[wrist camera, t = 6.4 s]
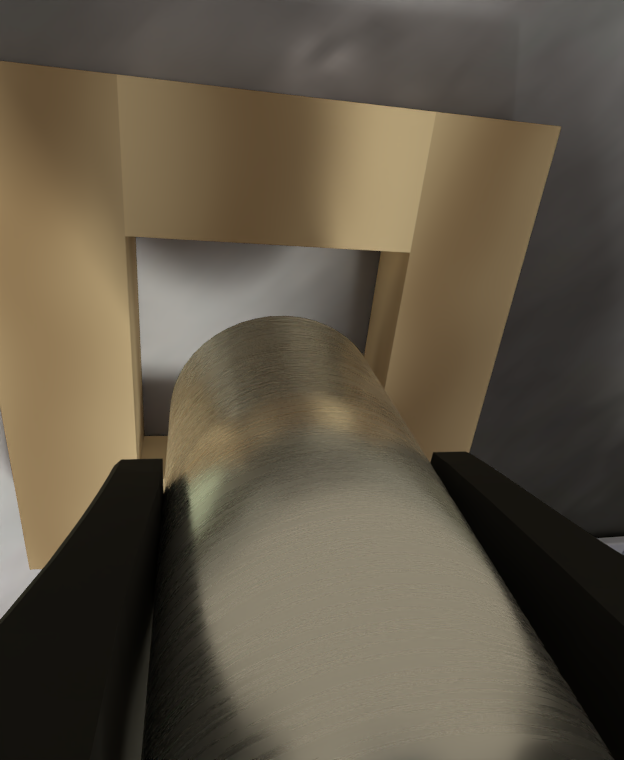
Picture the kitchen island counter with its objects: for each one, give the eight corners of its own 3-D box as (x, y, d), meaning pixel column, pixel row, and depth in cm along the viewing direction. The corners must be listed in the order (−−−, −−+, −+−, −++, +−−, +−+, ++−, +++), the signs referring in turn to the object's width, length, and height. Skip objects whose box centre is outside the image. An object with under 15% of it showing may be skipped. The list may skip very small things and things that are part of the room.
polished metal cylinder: (391, 319, 11) (715, 703, 4) (361, 490, 13) (546, 944, 6) (168, 311, 10) (106, 792, 3) (171, 497, 12) (137, 1043, 5)
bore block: (514, 121, 13) (561, 126, 12) (420, 501, 19) (443, 543, 17) (-24, 58, 11) (-65, 52, 9) (47, 518, 16) (29, 569, 15)
